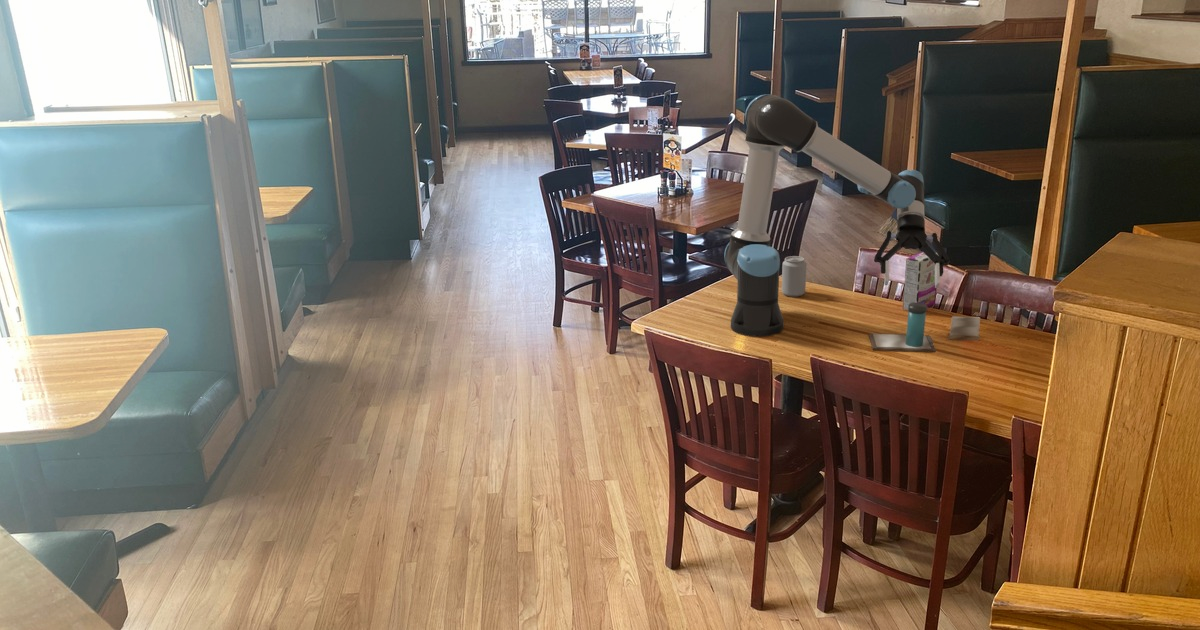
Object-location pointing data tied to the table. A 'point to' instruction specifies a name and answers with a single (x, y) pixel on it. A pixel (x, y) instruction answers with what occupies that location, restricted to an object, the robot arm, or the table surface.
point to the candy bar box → (919, 281)
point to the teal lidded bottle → (916, 324)
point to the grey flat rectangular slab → (899, 343)
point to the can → (794, 276)
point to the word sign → (965, 328)
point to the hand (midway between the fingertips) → (911, 284)
